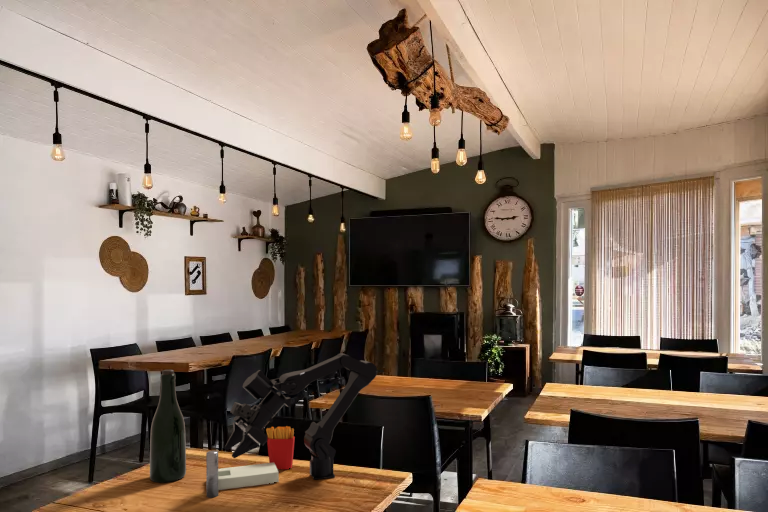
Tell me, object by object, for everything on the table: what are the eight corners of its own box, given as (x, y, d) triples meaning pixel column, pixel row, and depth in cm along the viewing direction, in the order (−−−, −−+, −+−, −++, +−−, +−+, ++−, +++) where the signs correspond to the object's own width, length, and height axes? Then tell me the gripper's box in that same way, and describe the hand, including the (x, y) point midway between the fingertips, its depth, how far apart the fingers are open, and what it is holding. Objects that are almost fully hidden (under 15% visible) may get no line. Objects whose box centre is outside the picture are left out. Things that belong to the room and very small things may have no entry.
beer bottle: (190, 471, 182) (190, 366, 183) (179, 483, 171) (179, 371, 173) (157, 472, 181) (157, 367, 183) (144, 484, 171) (144, 372, 172)
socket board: (274, 472, 179) (274, 462, 180) (278, 482, 170) (278, 472, 170) (211, 479, 173) (211, 469, 174) (212, 490, 164) (212, 480, 164)
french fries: (295, 465, 186) (295, 424, 186) (292, 469, 182) (292, 428, 182) (268, 465, 187) (267, 424, 187) (264, 469, 182) (264, 428, 183)
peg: (218, 492, 162) (217, 450, 163) (218, 496, 159) (218, 453, 160) (206, 494, 161) (206, 451, 162) (206, 498, 158) (206, 454, 159)
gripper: (240, 387, 175) (202, 428, 169) (256, 397, 158) (215, 443, 152) (265, 410, 178) (229, 451, 172) (283, 422, 161) (244, 468, 156)
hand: (229, 453), depth 163 cm, fingers open, 9 cm apart
